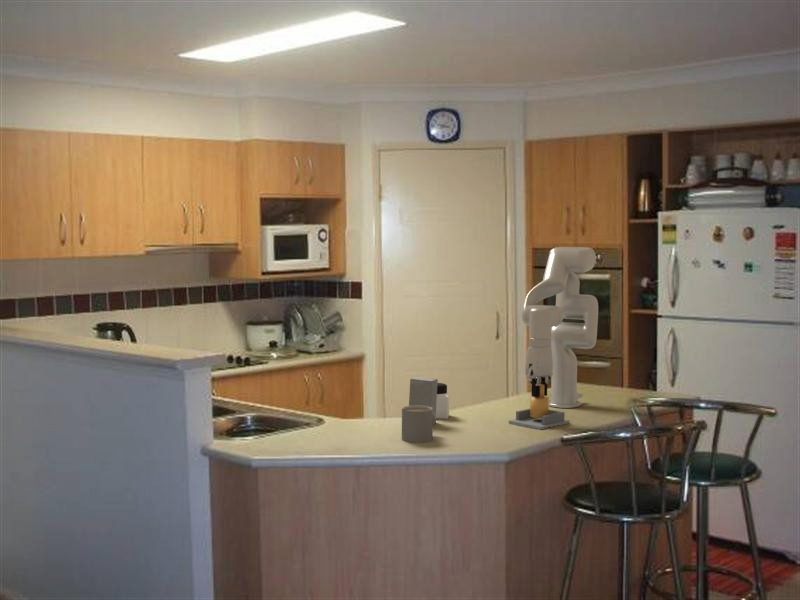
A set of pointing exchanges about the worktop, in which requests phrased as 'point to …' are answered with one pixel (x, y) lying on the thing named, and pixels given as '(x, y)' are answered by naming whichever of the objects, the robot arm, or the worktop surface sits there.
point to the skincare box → (423, 392)
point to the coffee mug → (417, 423)
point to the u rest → (539, 419)
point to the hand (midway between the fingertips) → (539, 395)
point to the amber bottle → (539, 404)
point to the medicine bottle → (442, 402)
